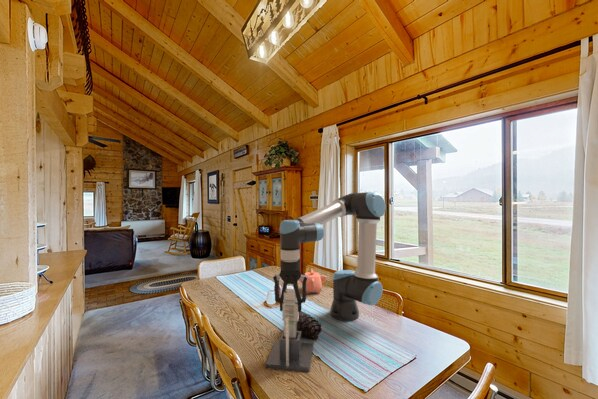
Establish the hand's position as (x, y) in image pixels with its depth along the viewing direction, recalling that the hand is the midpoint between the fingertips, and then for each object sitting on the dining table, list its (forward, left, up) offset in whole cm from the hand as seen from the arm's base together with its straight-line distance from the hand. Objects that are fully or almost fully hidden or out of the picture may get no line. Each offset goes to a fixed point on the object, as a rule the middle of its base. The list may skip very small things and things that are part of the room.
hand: (290, 319), depth 105 cm
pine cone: (-3, -19, -15) cm, 24 cm away
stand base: (0, 0, -15) cm, 15 cm away
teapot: (-2, -75, -15) cm, 77 cm away
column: (0, 0, -9) cm, 9 cm away
